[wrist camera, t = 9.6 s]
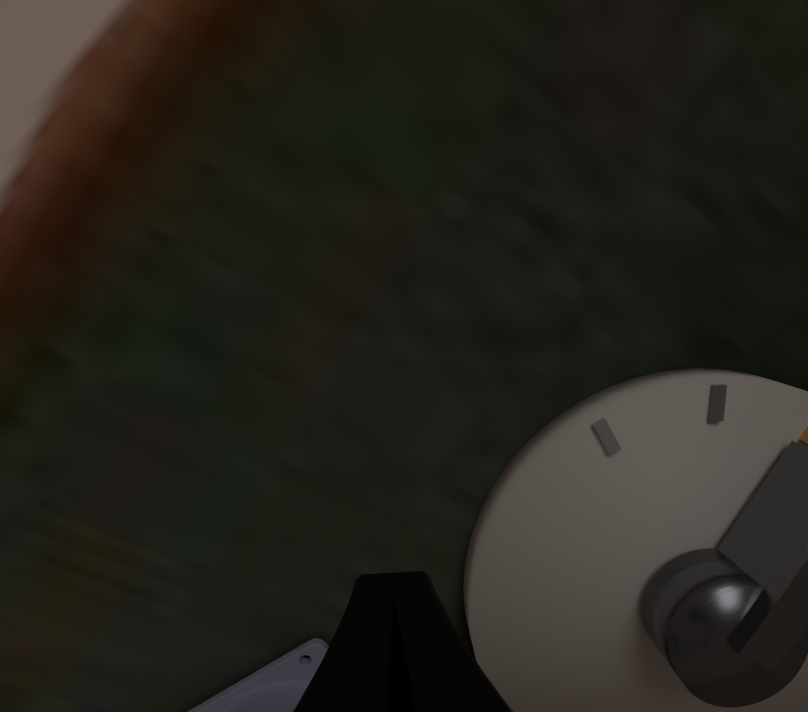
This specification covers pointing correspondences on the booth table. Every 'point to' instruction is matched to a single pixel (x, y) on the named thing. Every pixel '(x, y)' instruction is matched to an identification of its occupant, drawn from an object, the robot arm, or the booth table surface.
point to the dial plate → (618, 536)
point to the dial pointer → (740, 597)
